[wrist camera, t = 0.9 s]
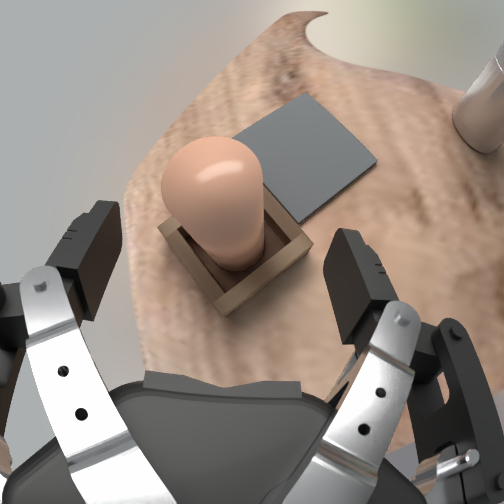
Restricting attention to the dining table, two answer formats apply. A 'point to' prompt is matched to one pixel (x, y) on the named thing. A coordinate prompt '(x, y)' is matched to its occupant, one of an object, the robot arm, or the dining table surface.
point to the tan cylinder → (218, 199)
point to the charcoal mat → (305, 155)
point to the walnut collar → (257, 279)
